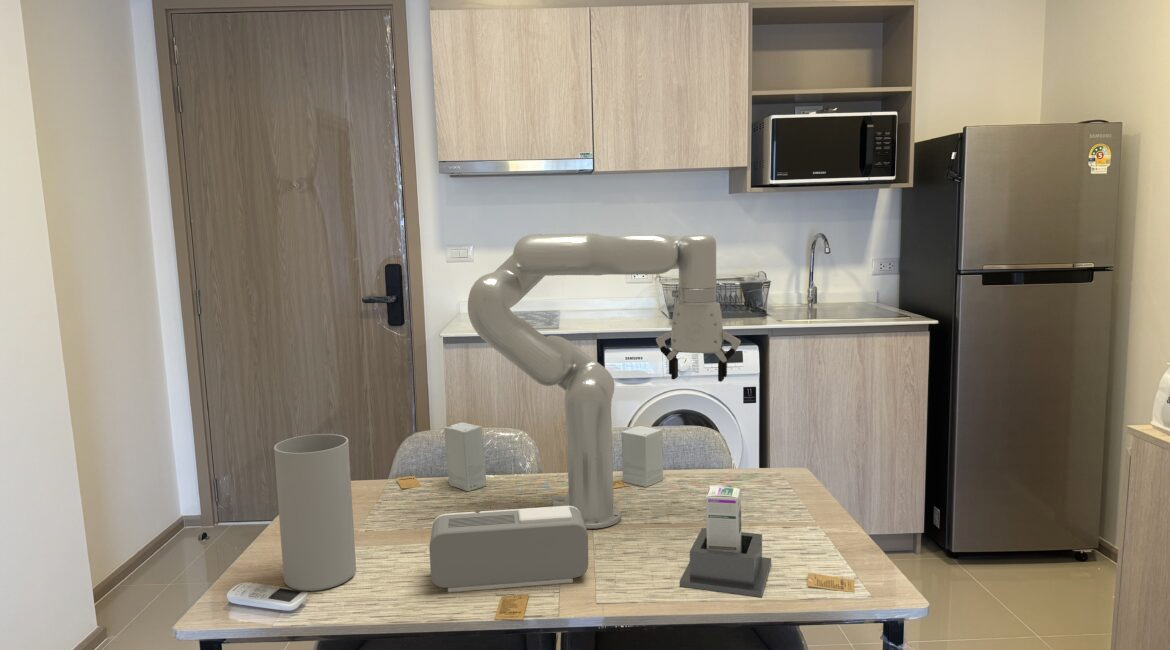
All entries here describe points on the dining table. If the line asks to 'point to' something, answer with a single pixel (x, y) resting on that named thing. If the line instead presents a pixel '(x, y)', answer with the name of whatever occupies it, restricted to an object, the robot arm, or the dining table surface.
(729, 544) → the syrup box
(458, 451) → the skincare box
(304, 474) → the cylinder vase
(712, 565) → the socket
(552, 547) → the grey rounded block
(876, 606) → the dining table surface
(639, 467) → the supplement box
